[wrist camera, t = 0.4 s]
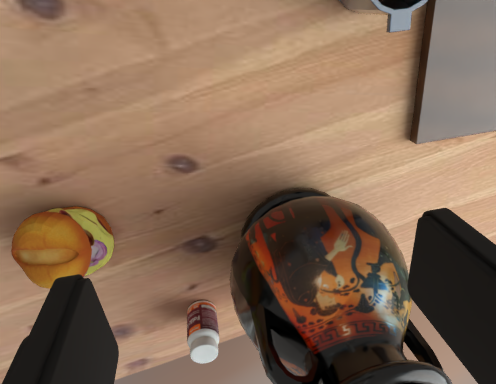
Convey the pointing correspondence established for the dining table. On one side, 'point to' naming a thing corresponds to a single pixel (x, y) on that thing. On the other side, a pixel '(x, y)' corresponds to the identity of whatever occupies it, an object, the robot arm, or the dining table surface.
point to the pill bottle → (202, 331)
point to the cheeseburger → (62, 244)
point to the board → (456, 71)
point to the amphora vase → (327, 295)
